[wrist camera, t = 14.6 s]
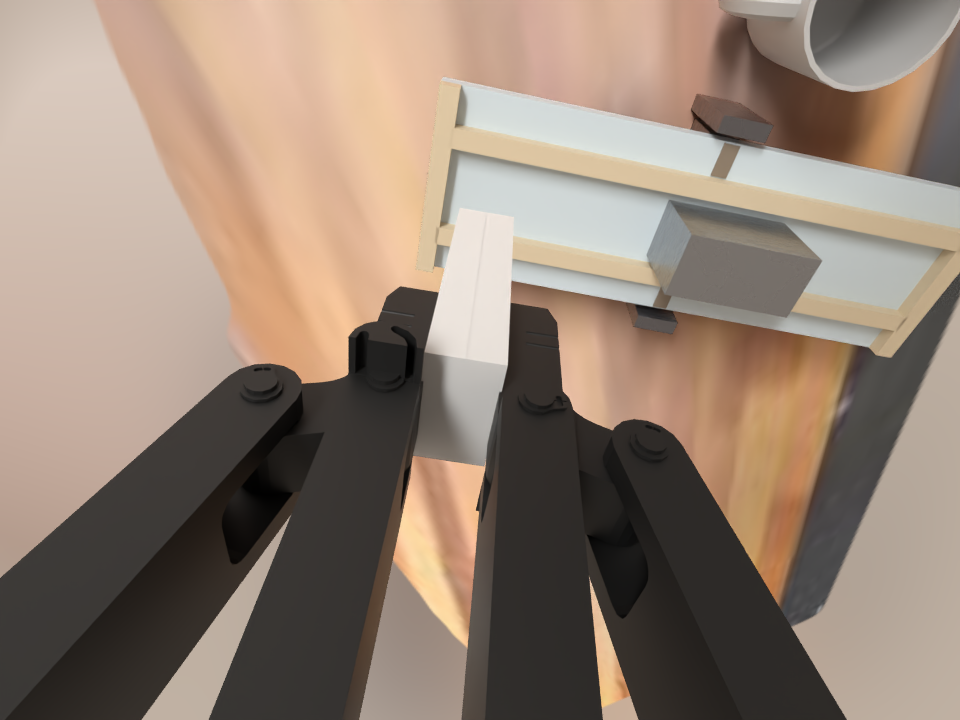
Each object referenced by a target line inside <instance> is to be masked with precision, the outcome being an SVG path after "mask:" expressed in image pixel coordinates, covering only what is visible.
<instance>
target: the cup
mask: <svg viewBox="0 0 960 720" xmlns="http://www.w3.org/2000/svg"><path fill="white" fill-rule="evenodd" d="M719 8H720V9H722V10H723V11H725V12H727V13H728V14H730V15H733V16H737V17H742V18H747V30H748V32H749V35H750V38H751V40H752V43H753V45H754V46H755V47H756V48H757V49H758V51H759V52H760V53H761V54H762V55H763V56H765V57H766V58H768V59H770V60H771V61H773V62H775V63H776V64H778V65H781V66H783V67H786V68H788V69H790V70H793V71H795V72H797V73H800V74H802V75H804V76H807V77H809V78H812V79H814V80H816V81H819V82H821V83H823V84H826V85H828V86H830V87H833V88H835V89H840V90H845V91H850V92H858V91H869V90H874V89H877V88H880V87H883V86H886V85H889V84H892V83H894V82H896V81H898V80H899V79H901V78H903V77H904V76H906V75H908V74H910V73H911V72H913V71H914V70H916V69H917V68H918V67H919V66H920V65H922V64H923V63H924V62H925V61H926V60H928V59H929V58H930V57H931V56H932V55H933V54H934V53H935V52H936V51H937V50H938V49H939V47H940V46H941V45H942V44H943V43H944V42H945V40H946V39H947V38H948V37H949V36H950V34H951V33H952V31H953V29H954V28H955V26H956V24H957V23H958V21H959V19H960V0H719Z"/></svg>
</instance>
